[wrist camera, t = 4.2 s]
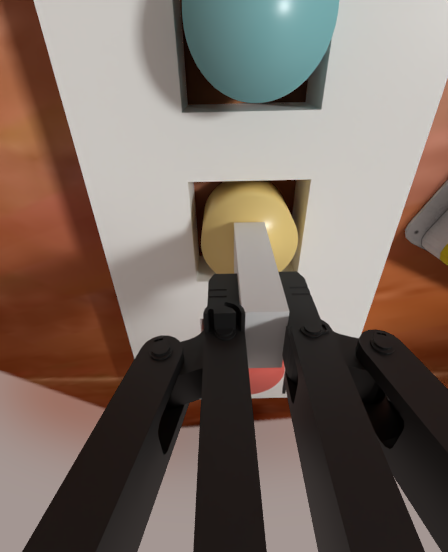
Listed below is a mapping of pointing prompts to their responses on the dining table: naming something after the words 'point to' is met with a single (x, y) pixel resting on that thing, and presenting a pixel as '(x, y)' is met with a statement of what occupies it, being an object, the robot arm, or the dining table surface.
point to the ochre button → (246, 208)
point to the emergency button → (432, 226)
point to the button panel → (245, 150)
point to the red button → (264, 378)
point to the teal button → (258, 43)
